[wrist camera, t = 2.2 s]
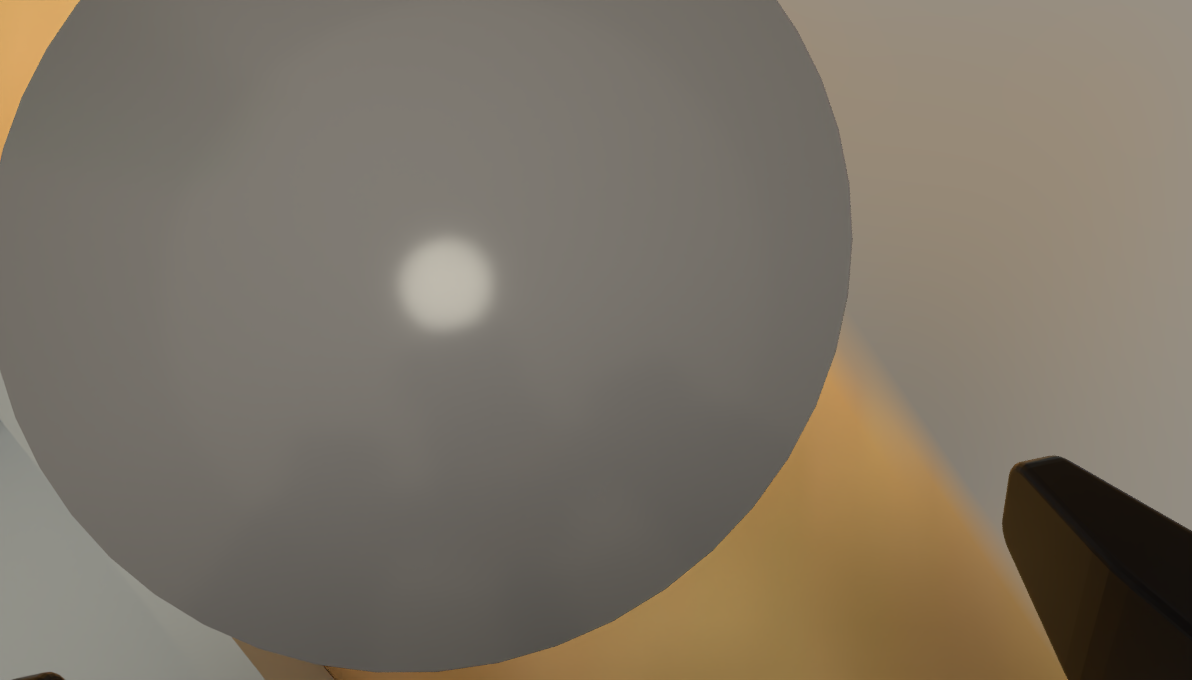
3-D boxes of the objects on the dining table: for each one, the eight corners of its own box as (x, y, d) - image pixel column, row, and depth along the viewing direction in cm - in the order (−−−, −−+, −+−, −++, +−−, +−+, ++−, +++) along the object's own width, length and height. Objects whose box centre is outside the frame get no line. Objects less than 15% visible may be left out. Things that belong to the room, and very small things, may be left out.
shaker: (743, 412, 19) (1038, 247, 6) (547, 592, 18) (358, 880, 5) (569, 225, 20) (460, -320, 6) (377, 394, 19) (-181, 193, 6)
